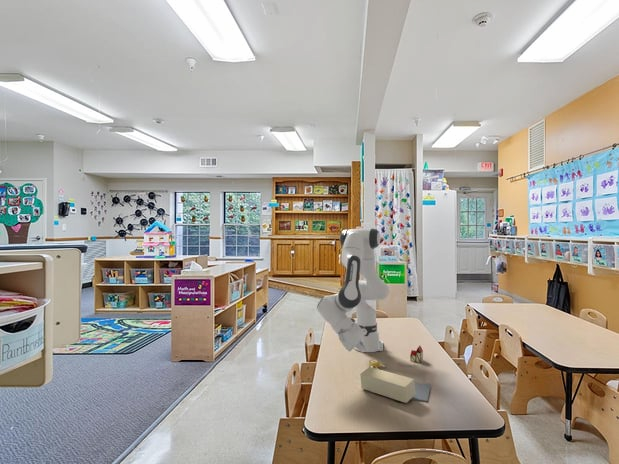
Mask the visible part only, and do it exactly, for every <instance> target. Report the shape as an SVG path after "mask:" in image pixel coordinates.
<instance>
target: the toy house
mask: <svg viewBox="0 0 619 464" xmlns="http://www.w3.org/2000/svg"><path fill="white" fill-rule="evenodd" d="M423 350H424V349H423V347H422V346H421V345H418V347H417V348H416V350H414V349H412V350H411V351H410V355H409V356H410V358H409V359H410V362H415V363H420V364H422V362H423V361H424V351H423Z"/></svg>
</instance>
